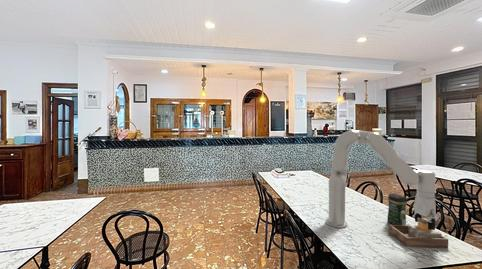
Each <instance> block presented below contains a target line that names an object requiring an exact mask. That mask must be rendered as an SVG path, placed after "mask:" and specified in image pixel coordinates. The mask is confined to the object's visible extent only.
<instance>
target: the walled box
mask: <svg viewBox="0 0 482 269" xmlns="http://www.w3.org/2000/svg"><path fill="white" fill-rule="evenodd" d="M388 233H389V234H390V235H391V236H392V237H394V239H396V240H398V241H399V242H400V243H401V244H403V245H404V246H405V247H408V248H432V249H433V248H435V249H436V248H437V249H441V248H442V249H448V248H449V239H448V238H447V237H445V236H443V234H442V232H440V231H438V230H436V229H435V230H431V231H422V230H420V229H418V224H406V225H394V224H388Z"/></svg>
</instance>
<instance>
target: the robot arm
mask: <svg viewBox="0 0 482 269" xmlns="http://www.w3.org/2000/svg"><path fill="white" fill-rule="evenodd" d="M354 144H356V145H365V146H369V147H370V148H371V150H372V151H374V153H376V155H377V156H378V157H379V158H380V159H381V160H382V161H383V163H384V164H386V165H387V167H389V168H390V169H391V170H392V171H393V172H394V173H395V174H396V175H397V176H398V178H399V179H400V180H401V181H402V182H403V183H404V184H406V186H407V185H408V186H416V194H415V197H414V201H413V202H414V203H413V204H412V207H413V212H414V221H415V223H418V220H417V218H426V219H428V220H429V222H428V229H429V230H436V223H437V222H438V220H439V218H440V216H439V215H438V214H437V213H436V210H437V209H436V200H435V194H436V192H435V191H436V173H435V172H434V171H430V170H418V169H417V170H416V169H413V168H412V166H410V165H409V164H408V163H407V162H406V160H404V158H403V157H402V156H401V155H400V153H398V151H397V150H396V149H395V148H394V147H393V146H392V145H391V144H390V143H389V142H388V141H387V140H386V139H385V138H384V137H383V136H382V135H381V133H379V132H375V131H365V130H359V129H358V130H355V129H349V130H347V131H345V132H342V133H341V134H339V136H337V138H336V140H335V143H334V148H333V154H332V161H331V167H332V168H331V173H330V174H331V175H330V176H329V178H328V217H327V218H326V220H325V223H326V225H328V226H330V227H333V228H338V229H341V228H343V229H344V228H347V227H348V222H347V221H346V187H347V186H346V185H347V184H346V183H347V179H348V172H349V160H348V159H349V153H350V148H351V146H352V145H354Z"/></svg>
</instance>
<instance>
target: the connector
mask: <svg viewBox="0 0 482 269" xmlns="http://www.w3.org/2000/svg"><path fill="white" fill-rule="evenodd" d="M417 220H418V222H417V225H418V229H420V230H422V231H431V230H429V229H428V222H429V220H428V218H427V217H422V218H417Z"/></svg>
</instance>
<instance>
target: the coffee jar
mask: <svg viewBox="0 0 482 269" xmlns="http://www.w3.org/2000/svg"><path fill="white" fill-rule="evenodd" d="M387 200H388V211H387V220H386V221H387V222H388V223H390V224H391V225H407V217H406V216H407V215H406V213H407V211H406V207H407V204H408V203H407V202H408V200H407V197H406V196H405V195H401V194H397V193H395V192H390V193H389V194H388V197H387Z"/></svg>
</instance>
